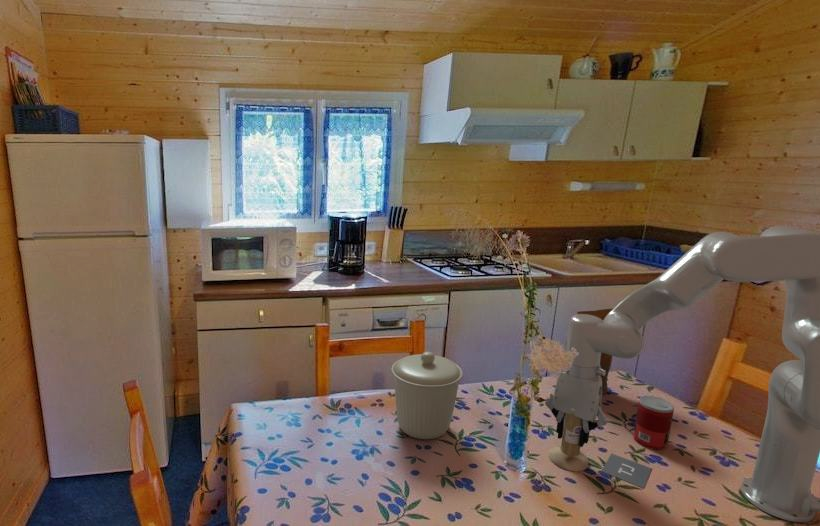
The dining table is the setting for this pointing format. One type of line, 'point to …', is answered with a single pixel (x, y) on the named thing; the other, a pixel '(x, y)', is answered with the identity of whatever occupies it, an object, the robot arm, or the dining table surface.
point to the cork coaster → (568, 460)
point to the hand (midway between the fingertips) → (571, 439)
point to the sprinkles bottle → (571, 434)
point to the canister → (425, 394)
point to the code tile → (627, 470)
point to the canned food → (653, 422)
